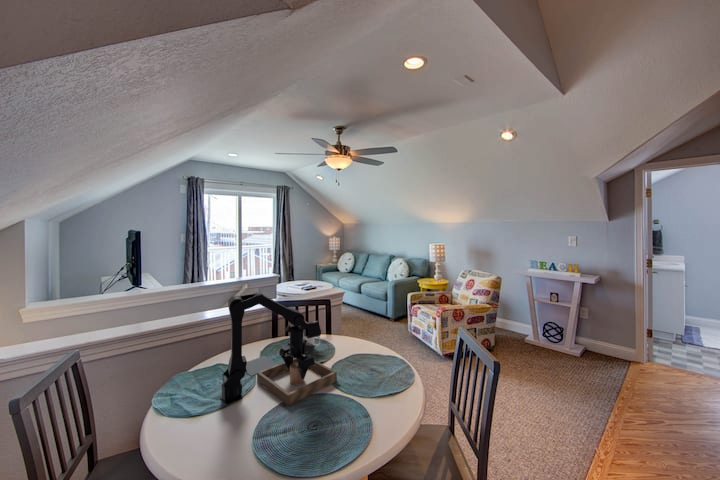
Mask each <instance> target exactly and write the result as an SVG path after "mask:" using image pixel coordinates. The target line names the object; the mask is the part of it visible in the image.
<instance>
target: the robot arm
mask: <svg viewBox="0 0 720 480" xmlns="http://www.w3.org/2000/svg"><path fill="white" fill-rule="evenodd" d="M257 305H259V306H262V307H263V308H266V309H268V310H270V311H272V312H274V313H276V314H277V315H279V316H281V317H282V318H284V319H285V320H286V321H288V323H290V324H291V325H290V324H288V325H287V326H286V327H285V328H284V331H285V332H286V333H289V341H288V342H287V345H286V346H284V347H281V348H280V349H279V351H278V352H279V356H281V357H280V358H282V360H283V362H285V364H286V366H287V368H288V371H289V372H290V365H291V364H293V358H296V359H298V365H299V366H298V369H299V372H300V376H301V379H302V380H303V379H304V380H305V378H306V374H307V372H308V370H309V369H310V368H309V366H312V365H313V364H315V361H316V359H315V358H314V356H311V355H310V354H307V353H312V354H313V353H314V350H315V348H316V347H315V345H313V344H311V343H308V342H307V340H305V339H303V334H304V336H306V337H307V338H313V337H315V338H318V336H319V337H321V336H322V335H321V333H322V329H321V326H320V321H318V320H314V321H308V322H307V321H306V320H305V319H306V318H305V315H304V314H303V313H301V312H300V311H299V310H298V309H295V308H292V307H287V306H285V305H283V304H281V303H280V302H278V301H276V300H273V299H272V298H270V297H268V296H266V295H265V294H263V293H262V292H254V293H250V294H244V295H233V296H230V298H229V299H228V301H227V306H228V311H229V316H230V326H231V327H230V357H229V360H228V365H227V369H225V371H224V372H223V373H222V374H221V376H222V383H221V384H220V385H221V395H220V397H219V398H220V400H221V401H223V404H225V405H229V404H231V403H233V402H236V401H238V400H240V399H242V398H243V397H244V396H243V384H242V382H241V380H242V379H244V377H245V375H246V372H247V370H246V365H247V362H248V360H247V358H246V356H245V355H243V349H242V348H243V342H242V341H243V335H242V334H243V319H244V316H245V310H248V309H251V308H253V307H255V306H257ZM314 347H315V348H314ZM306 354H307V355H306ZM303 355H306V356H303Z"/></svg>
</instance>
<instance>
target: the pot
mask: <svg viewBox="0 0 720 480" xmlns="http://www.w3.org/2000/svg"><path fill="white" fill-rule="evenodd" d="M298 366H299V365H298V362H296V363H293V364H291V365H290V371H289V384H290V385H293V386H300V385H301V384H302V385H303V384H304V382H305V378H304V379H303V380H302V379H301V376H300V372H299V369H298Z"/></svg>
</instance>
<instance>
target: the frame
mask: <svg viewBox="0 0 720 480" xmlns="http://www.w3.org/2000/svg"><path fill="white" fill-rule="evenodd" d="M303 356H307V355H306V354H303ZM296 362H298V359H296V358H293V363H296ZM277 364H278V365H275V366H272V367H270V368H267V369H265V370H262V371H259V372H257V374H256V382H257V383H258V384H259V385H261V386H263V388H265V389H266V390H267V391H268V392H270V393H271V394H273V395H274V397H276V398H277V399H279V400H280V401H281V402H282V403H285V405H286V406H288V407H289V406H290V405H292V404H294V403H297V402H298V401H301V400H302V399H304V398H306V397H308V396H310V395H312V394H314V393H315V392H316V393H317V392H318V391H320V390H322V389H324V388H326V387H328V386H330V385H332V384H334V383H335V382H337V380H338V373H337V371H335V370H333V369H332V368H330V367H328V366H326V365H324V364H322V363H321V362H318V361H316V360H315V364H313V365H312V366H309V368H308V369H311V370H313V371H315V372H316V373H318V374H320V375H321V376H322V377H320V378H317V379H316V380H314V381H311V382H308V383H307V384H304V385H302V386H301V387H298V388H297V389H294V390H293V391H290V392H288V391H287V389H284V388H283V387H281V385H279V384H277V382H275V381H273V380H272V379H271V378H273V377H275V376H277V375H281V374H282V373H285V372H288V371H289V370H288V368H287V366H286V364H285V362H284V361H282V362H280V363H277Z"/></svg>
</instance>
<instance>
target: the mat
mask: <svg viewBox="0 0 720 480" xmlns="http://www.w3.org/2000/svg"><path fill="white" fill-rule="evenodd" d="M278 364H279V363H277V362H275V361H273V360H272V359H271V358H268V357H267V356H265V355H263V356H259V357H257V358H255V359H251V360H249V361H248V360H247V365H246V370H247V372H245V374H247V375H249V376H250V377H253V376H257V372H259V371H262V370H265V369H267V368H270V367H272V366H275V365H278Z"/></svg>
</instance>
